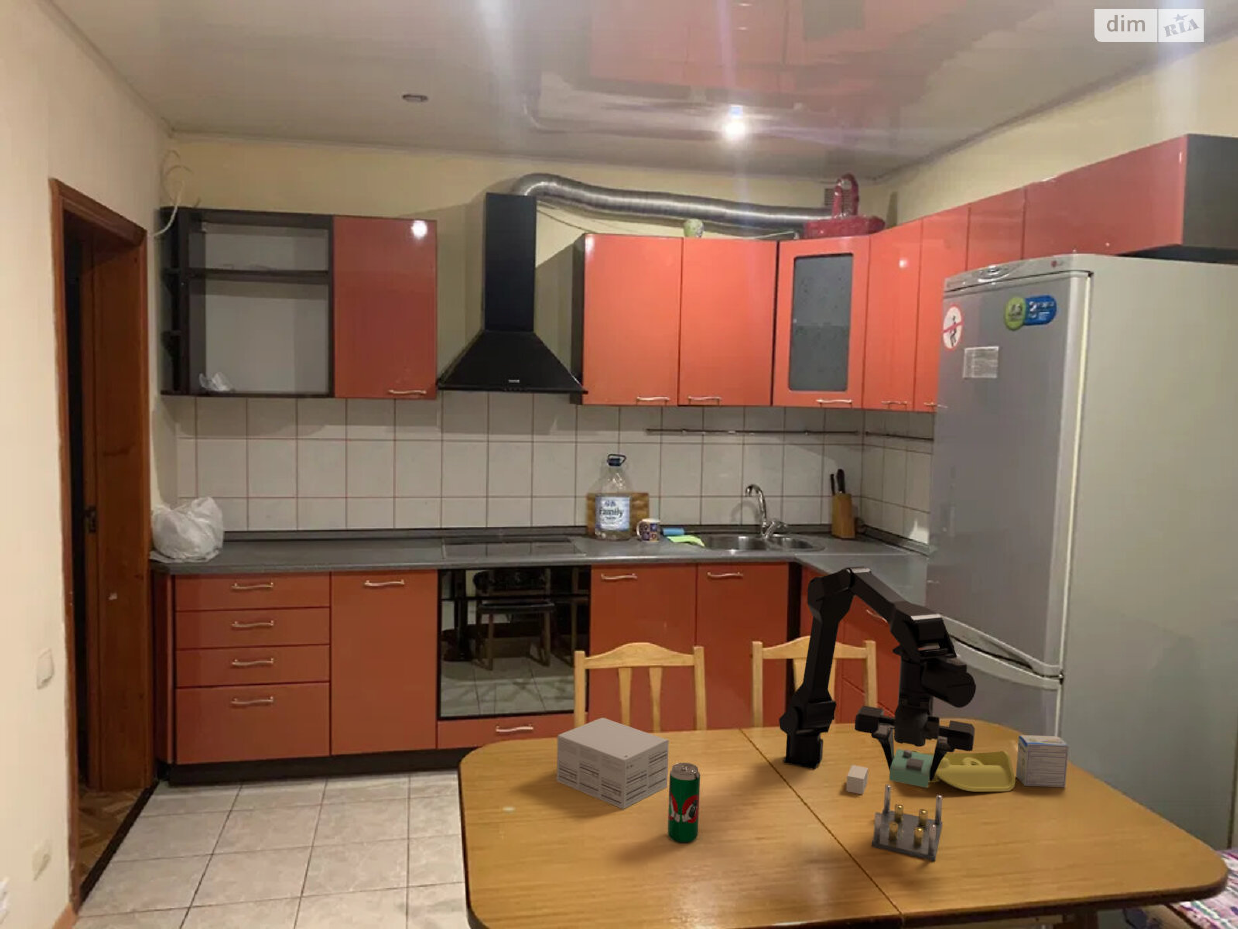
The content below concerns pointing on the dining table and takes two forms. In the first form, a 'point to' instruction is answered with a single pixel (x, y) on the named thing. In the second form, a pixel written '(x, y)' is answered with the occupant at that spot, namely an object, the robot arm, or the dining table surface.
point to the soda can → (683, 802)
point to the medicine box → (1042, 761)
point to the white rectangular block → (857, 779)
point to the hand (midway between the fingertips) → (911, 776)
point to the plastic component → (976, 771)
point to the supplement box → (612, 762)
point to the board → (911, 768)
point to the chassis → (907, 830)
